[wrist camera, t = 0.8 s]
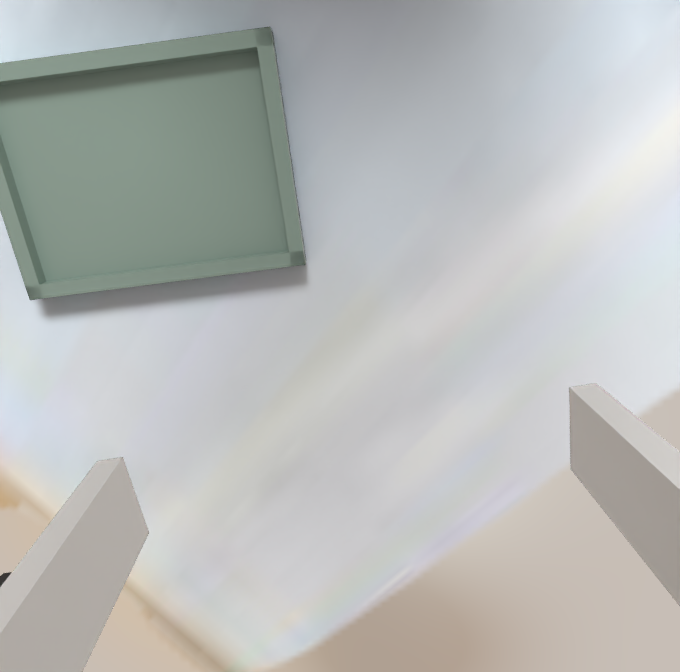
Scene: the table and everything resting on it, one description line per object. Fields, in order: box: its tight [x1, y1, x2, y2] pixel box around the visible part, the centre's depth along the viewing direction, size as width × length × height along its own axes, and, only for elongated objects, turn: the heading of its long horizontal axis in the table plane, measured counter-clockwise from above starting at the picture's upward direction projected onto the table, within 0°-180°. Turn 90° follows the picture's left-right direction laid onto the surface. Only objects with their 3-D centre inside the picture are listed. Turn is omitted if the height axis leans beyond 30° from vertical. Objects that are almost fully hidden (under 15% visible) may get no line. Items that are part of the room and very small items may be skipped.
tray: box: [0, 27, 306, 300], centre depth 35 cm, size 20×15×2 cm
